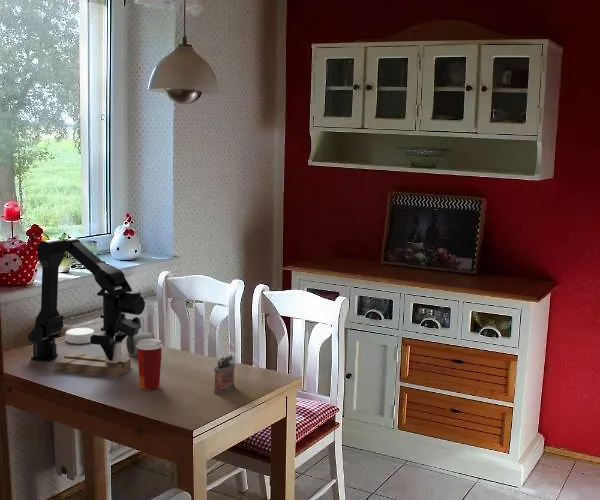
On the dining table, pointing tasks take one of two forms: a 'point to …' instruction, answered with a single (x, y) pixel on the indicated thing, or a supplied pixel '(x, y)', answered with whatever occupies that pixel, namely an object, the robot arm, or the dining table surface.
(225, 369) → the lighter
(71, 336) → the white bowl
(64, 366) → the fader track
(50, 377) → the dining table surface
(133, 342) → the ceramic mug
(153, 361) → the paper cup
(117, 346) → the fader tab
